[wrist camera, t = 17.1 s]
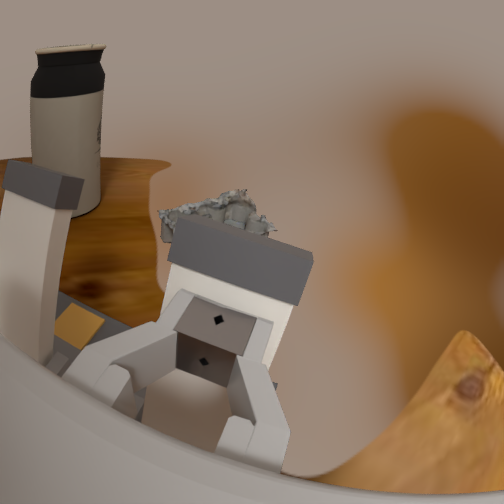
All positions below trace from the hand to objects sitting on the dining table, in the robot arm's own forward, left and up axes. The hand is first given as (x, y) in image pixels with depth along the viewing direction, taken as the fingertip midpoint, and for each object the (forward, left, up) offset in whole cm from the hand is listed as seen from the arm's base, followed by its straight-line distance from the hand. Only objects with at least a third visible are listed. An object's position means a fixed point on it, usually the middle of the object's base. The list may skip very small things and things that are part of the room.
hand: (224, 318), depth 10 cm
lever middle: (-6, -8, -7) cm, 13 cm away
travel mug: (-29, -2, -11) cm, 32 cm away
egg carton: (-17, +11, -12) cm, 23 cm away
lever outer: (+1, -2, -7) cm, 8 cm away
